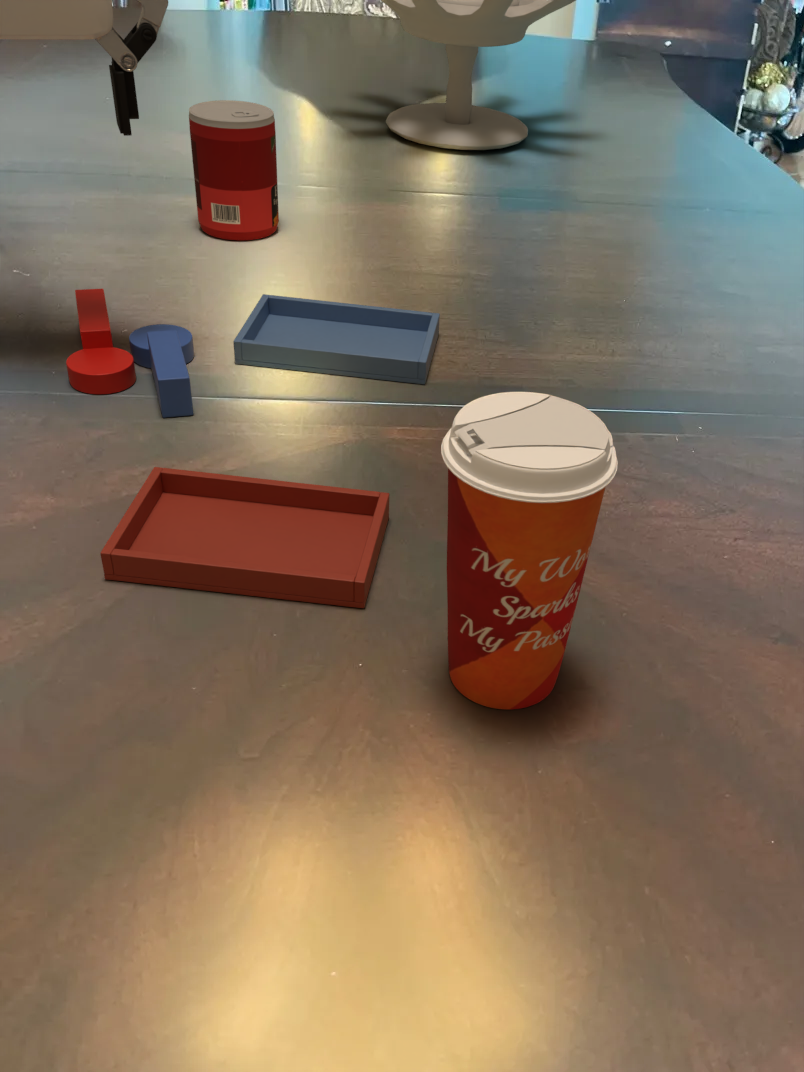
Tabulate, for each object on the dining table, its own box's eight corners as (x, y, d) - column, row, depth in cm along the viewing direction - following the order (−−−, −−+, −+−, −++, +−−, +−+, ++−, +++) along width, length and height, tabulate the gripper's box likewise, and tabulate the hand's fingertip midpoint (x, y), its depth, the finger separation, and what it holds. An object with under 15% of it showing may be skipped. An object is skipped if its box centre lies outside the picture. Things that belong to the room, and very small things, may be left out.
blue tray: (234, 363, 83) (233, 341, 82) (264, 315, 91) (262, 293, 90) (425, 384, 83) (426, 362, 82) (438, 334, 91) (439, 313, 89)
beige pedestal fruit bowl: (381, 182, 121) (385, -105, 104) (294, 103, 145) (286, -142, 128) (634, 168, 133) (676, -91, 116) (515, 97, 157) (536, -126, 140)
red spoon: (64, 326, 86) (57, 290, 84) (125, 322, 87) (120, 287, 86) (71, 397, 77) (63, 358, 75) (139, 391, 79) (133, 354, 77)
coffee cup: (462, 741, 53) (486, 486, 44) (405, 641, 59) (416, 397, 49) (606, 704, 56) (659, 458, 47) (539, 612, 62) (573, 377, 52)
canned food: (292, 235, 106) (288, 117, 99) (217, 246, 102) (207, 124, 95) (259, 211, 111) (253, 97, 103) (186, 220, 107) (175, 102, 100)
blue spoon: (211, 413, 77) (208, 376, 75) (143, 419, 75) (138, 381, 74) (190, 340, 86) (186, 305, 84) (129, 344, 84) (123, 308, 82)
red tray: (104, 579, 61) (99, 552, 60) (157, 491, 68) (154, 466, 67) (364, 608, 61) (364, 582, 60) (388, 517, 68) (389, 492, 67)
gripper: (142, -178, 67) (173, 115, 77) (-165, -199, 61) (-85, 119, 72) (157, -169, 61) (188, 144, 72) (-178, -191, 56) (-90, 150, 67)
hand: (51, 131), depth 72 cm, fingers open, 9 cm apart
